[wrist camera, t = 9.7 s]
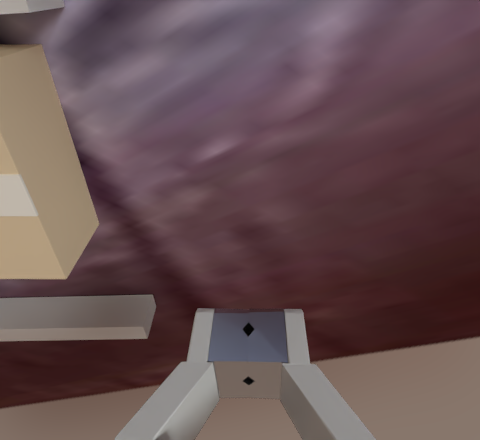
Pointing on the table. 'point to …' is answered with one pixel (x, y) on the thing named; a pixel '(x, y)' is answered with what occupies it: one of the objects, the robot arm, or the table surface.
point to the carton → (38, 173)
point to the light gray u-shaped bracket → (74, 307)
